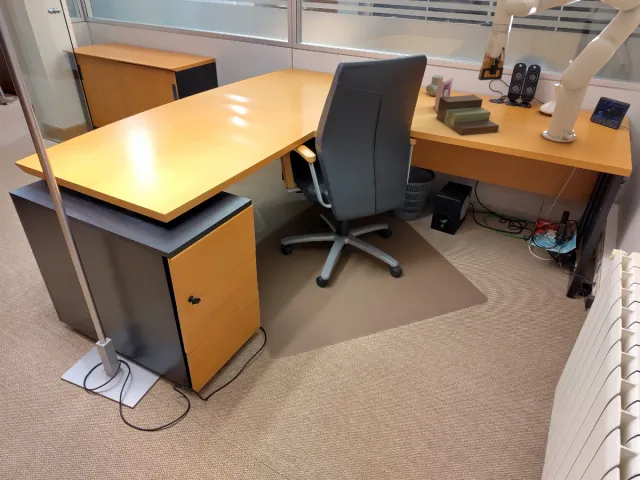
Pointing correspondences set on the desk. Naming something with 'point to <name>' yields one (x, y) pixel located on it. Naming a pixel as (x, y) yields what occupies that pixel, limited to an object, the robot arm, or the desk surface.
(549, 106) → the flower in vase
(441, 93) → the greeting card
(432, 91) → the grey pipe tee fitting
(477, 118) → the step shelf
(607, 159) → the desk surface
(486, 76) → the ammunition clip
